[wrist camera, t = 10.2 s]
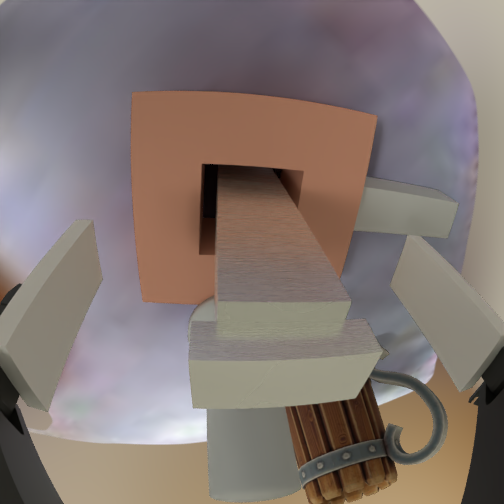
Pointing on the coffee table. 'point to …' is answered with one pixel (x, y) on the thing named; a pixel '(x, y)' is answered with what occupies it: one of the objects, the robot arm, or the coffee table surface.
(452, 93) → the coffee table surface
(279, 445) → the square hole peg fixture
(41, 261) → the robot arm
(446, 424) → the mug
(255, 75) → the coffee table surface
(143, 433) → the coffee table surface
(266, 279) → the wedge pin
